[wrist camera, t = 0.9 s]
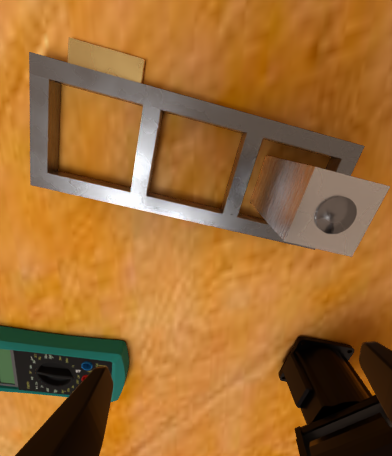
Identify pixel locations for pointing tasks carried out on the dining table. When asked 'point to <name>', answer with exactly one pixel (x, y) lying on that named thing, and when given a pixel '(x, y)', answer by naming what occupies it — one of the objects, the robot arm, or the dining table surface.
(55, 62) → the rail frame
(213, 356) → the dining table surface
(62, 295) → the dining table surface
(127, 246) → the dining table surface
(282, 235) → the grey tall square block
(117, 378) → the digital multimeter
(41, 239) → the dining table surface
